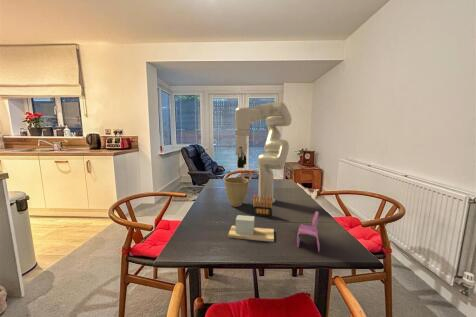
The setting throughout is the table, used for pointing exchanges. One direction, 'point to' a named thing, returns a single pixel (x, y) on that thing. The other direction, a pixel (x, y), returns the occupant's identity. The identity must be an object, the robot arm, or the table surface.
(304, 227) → the toy chair
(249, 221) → the pale green notched block
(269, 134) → the robot arm
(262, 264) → the table surface
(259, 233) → the board
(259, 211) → the ammunition clip
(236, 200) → the plant pot
